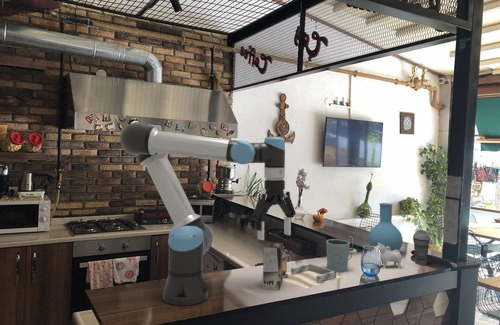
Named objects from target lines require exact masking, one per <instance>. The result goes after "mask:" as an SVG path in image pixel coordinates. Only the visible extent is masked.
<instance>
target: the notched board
mask: <svg viewBox="0 0 500 325" xmlns="http://www.w3.org/2000/svg"><path fill="white" fill-rule="evenodd" d="M286 274H288V277H287V278H284V279H283V282H286V283H289V284H291V285H294V286H298V287H300V288H303V289H310V288H312V287H313V288H314V287H316V286H319V285H322V284H325V283H328V282H331V281H336V280H338V279H342V278H343V276H341V275H339V274H337V272H336V271H333V270H330V269H328V268H327V267H322V266H319V265H315V264H311V263H305V264H302V265H299V266H298V265H297V266H295V267H291V268H290V271H287V273H286Z"/></svg>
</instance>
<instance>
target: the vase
mask: <svg viewBox="0 0 500 325" xmlns="http://www.w3.org/2000/svg"><path fill="white" fill-rule="evenodd" d="M378 205H379V222H378V223H377V224H375V225H374V226H373V227H372V228H371V230H370V231H369V233H368V243H369V245H370V247H371V246H378V243H380V244H382V245H384V246H385V248H386V247H387V246H389V247H390V251H394V250H399V251H400V249H402V246H403V236H402V233H401V231H400V229H398V228H397V227H396V225H394V224H393V222H392V221H393V220H392V219H393V217H392V216H393V205H394V204H393V203H389V202H379V203H378Z"/></svg>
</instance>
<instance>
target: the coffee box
mask: <svg viewBox="0 0 500 325" xmlns="http://www.w3.org/2000/svg"><path fill="white" fill-rule="evenodd" d="M262 254H263V258H262V259H263V260H262V262H263V264H262V269H263V270H262V290H268V291H269V290H271V291H272V290H273V291H281V288H282V285H283V282H284V281H283V254H284V243H283V242H269V241H268V242H266V243H265V245H264V246H263V253H262Z"/></svg>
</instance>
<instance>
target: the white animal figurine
mask: <svg viewBox="0 0 500 325" xmlns="http://www.w3.org/2000/svg"><path fill="white" fill-rule="evenodd" d="M375 247H376V248H378V249H379V250H380V252H381V261H382V265H381V266H380V267H382V269H384V270H385V269H386V268H387V264H388V263H389V262H390V263H391V262H392V263H393V265H392V266H393V267H397V268H396V269H399V270H400V269H401V263H402V258H403V255H402V254H401V251H400V250H394V251H390V247H389V246H387V247H386V248H385V246H384V245H382V244H380V243H378V246H375Z"/></svg>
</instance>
